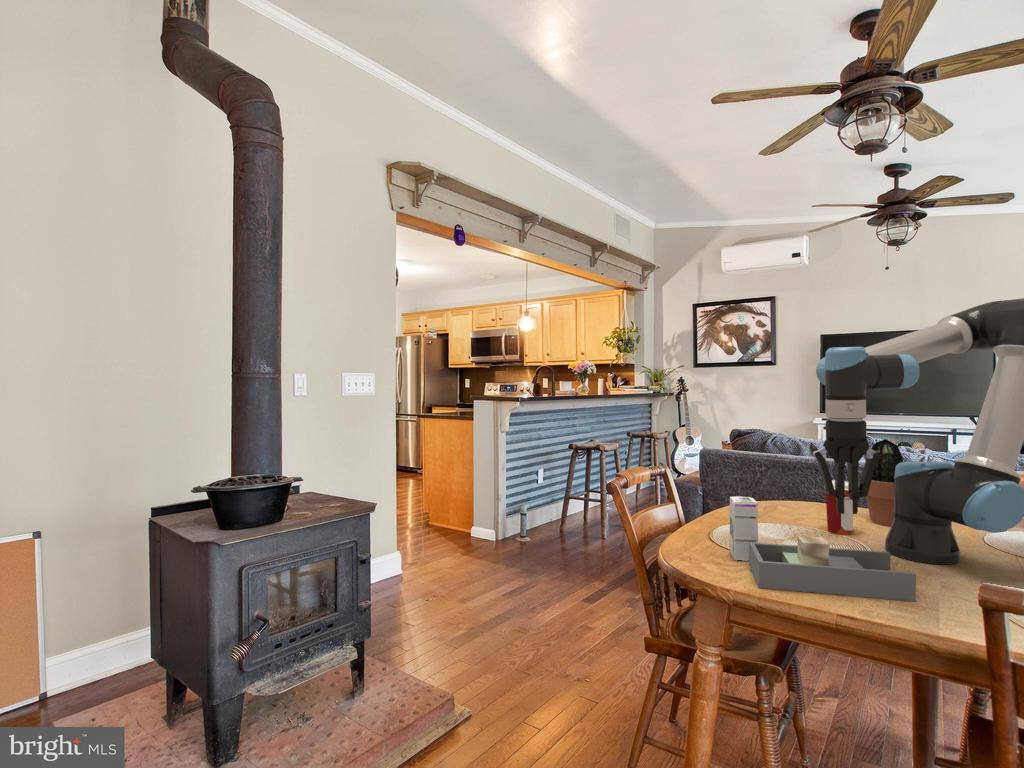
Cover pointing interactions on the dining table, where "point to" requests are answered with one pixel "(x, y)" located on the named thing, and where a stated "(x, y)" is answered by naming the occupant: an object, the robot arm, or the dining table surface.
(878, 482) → the potted plant
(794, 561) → the trap lane
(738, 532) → the syrup box
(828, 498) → the paper cup
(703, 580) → the dining table surface
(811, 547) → the birch block
